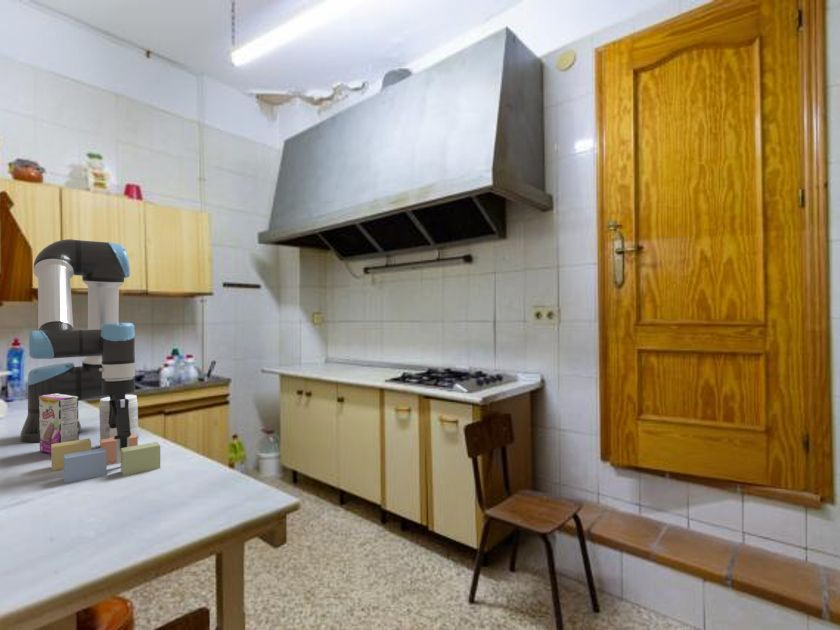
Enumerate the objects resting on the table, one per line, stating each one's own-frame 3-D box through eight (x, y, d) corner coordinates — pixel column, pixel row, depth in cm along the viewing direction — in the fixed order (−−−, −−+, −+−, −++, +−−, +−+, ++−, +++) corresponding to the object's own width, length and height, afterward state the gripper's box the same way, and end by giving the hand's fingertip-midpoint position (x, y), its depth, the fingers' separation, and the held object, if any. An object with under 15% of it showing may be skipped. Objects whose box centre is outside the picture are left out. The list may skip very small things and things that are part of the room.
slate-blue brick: (64, 483, 102) (64, 458, 102) (64, 479, 105) (63, 454, 105) (106, 475, 107) (106, 451, 107) (104, 471, 110) (104, 447, 110)
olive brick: (123, 476, 107) (123, 451, 107) (120, 471, 110) (120, 448, 110) (160, 468, 112) (160, 445, 112) (157, 464, 115) (156, 441, 115)
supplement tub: (136, 439, 138) (136, 393, 138) (140, 446, 131) (140, 397, 131) (98, 445, 132) (98, 396, 132) (100, 452, 125) (100, 401, 125)
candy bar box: (38, 452, 125) (37, 395, 125) (58, 447, 130) (58, 392, 130) (59, 457, 121) (59, 398, 121) (79, 452, 125) (79, 395, 125)
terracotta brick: (102, 465, 115) (101, 442, 114) (100, 461, 117) (100, 439, 117) (137, 458, 120) (137, 437, 120) (135, 455, 123) (135, 434, 123)
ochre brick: (52, 471, 110) (51, 447, 110) (51, 467, 113) (51, 444, 113) (91, 463, 116) (91, 441, 116) (89, 460, 119) (89, 438, 119)
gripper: (96, 375, 125) (97, 449, 125) (107, 385, 107) (108, 471, 107) (127, 373, 130) (128, 443, 130) (143, 382, 112) (144, 464, 112)
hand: (119, 456), depth 119 cm, fingers open, 13 cm apart
